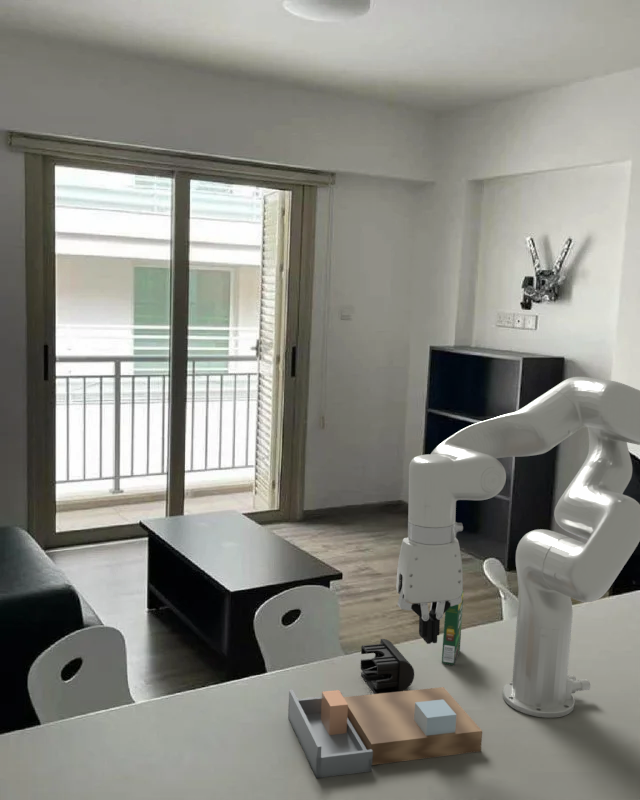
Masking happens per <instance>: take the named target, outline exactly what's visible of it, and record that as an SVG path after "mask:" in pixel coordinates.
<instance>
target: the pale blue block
mask: <svg viewBox="0 0 640 800" xmlns="http://www.w3.org/2000/svg"><path fill="white" fill-rule="evenodd" d="M414 720H415V722H416V723H417V724H418V726H419V727H420V728H421V730H422V731H423V732H424V734H425V735H426V736H428V735H437V734H445V733H454V732H455V728H456V714H455V712H454V711H453V710H452V709H451V708H450V707H449V705H448V704H447V703H446V702H445V701H444V700H433V701H424V702H415V713H414Z"/></svg>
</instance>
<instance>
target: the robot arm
mask: <svg viewBox="0 0 640 800" xmlns="http://www.w3.org/2000/svg"><path fill="white" fill-rule="evenodd" d="M582 428H587V432H588V443H589V446H588V448H589V449H588V454H587V455H586V457H585V460H584V462H583V464H582V465H581V467H580V468H579V470H578V472H577V473H576V474H575V476H574V477H573V478H572V480H571V482H570V483H569V485H568V486H567V488H566V489H565V490H564V492H563V494H562V495H561V496H560V498H559V499H558V501H557V503H556V505H555V507H554V515H553V516H554V520H555V523H556V524H557V525H558V526H559V527H560V528H561V529H562V530H563V531H565V532H567V533H570V534H572V535H574V536H575V537H579V538H580V539H584V540H587V541H586V543H585V542H584V541H580V540H577V539H575V538H572V537H570V536H568V535H565V534H563V533H560V532H557V531H553V530H549V529H543V528H542V529H541V528H540V529H539V528H538V529H534V530H531V531H529V532H527V533H525V534H524V535H523V536H522V538H521V539H520V540H519V541H518V544H517V547H516V550H515V567H516V574H517V575H516V576H517V584H518V586H517V587H518V598H517V599H518V601H517V602H518V603H517V613H516V614H517V615H516V627H515V628H516V629H515V643H514V654H513V655H514V656H513V669H512V681H509V682H508V683H506V684H505V685H503V688H502V698H503V700H504V701H505V703H506V704H507V705H508V706H509V707H511V708H512V709H514V710H516V711H517V712H518V711H519V712H521V713H522V714H525V715H529V716H532V717H538V718H547V719H548V718H549V719H550V718H561V717H565V716H567V715H568V714H570V713H572V711H573V710H574V708H575V698H574V697H573V695H572V694H575V693H576V692H578V691H579V692H582V691H590V690H591V682H590V681H589V679H587V678H585V679H577V678H576V676H575V675H572V674H571V675H569V664H570V662H569V661H570V653H571V652H570V650H571V649H570V648H571V637H572V625H573V616H574V615H573V612H574V610H573V603H572V599H573V600H576V601H578V602H583V603H592V602H593V603H594V602H596V601H597V600H599V599H600V598H602V597H604V595H605V594H606V593H607V592H608V591H609V589H610V588H611V586H612V585H613V583H614V582H615V580H616V579H617V578H618V576H619V574H620V573H621V571H622V570H623V568H624V566H625V565H626V564H627V562H628V561H629V559H630V558H631V556H632V554H633V553H634V551H635V550H636V549H637V547H638V545H639V543H640V502H638V501H637V500H636V499H635V498H633V497H631V496H630V495H626V494H624V492H625V490H626V489H627V487H628V485H629V483H630V481H631V480H632V477H633V464H632V463H633V462H632V458H631V454H630V450H629V447H628V443H629V444H631V445H637V446H640V390H639V389H637V388H635V387H633V386H630V385H627V384H625V383H623V382H618V381H616V380H615V381H614V380H609V379H602V378H594V377H587V376H571V377H569V378H567V379H565V380H563V381H561V382H560V383H558V384H557V385H555V386H554V387H552V388H551V389H548V390H547V391H546V392H544V393H543V394H541V395H540V396H538V397H537V398H535V399H533V400H532V401H531V402H529V403H528V404H526V405H525V406H523V407H521V408H519V409H518V410H516V411H513V412H509V413H505V414H502V415H499V416H496V417H492V418H489V419H486V420H483V421H479V422H477V423H473V424H471V425H468V426H466V427H464V428H462V429H459V430H458V431H457V432H455V433H453V434H452V435H450V436H449V437H447V438H446V439H444V440H443V441H442V442H441V443H439V444H438V445H436V447H435V448H434V449H433V450H432V451H431V453H430V454H429V453H428V454H421V455H417V456H414V457H412V459H411V460H410V463H409V465H408V503H407V504H408V512H407V513H408V515H407V518H408V520H407V537H404V538H403V539H402V541H401V546H400V550H399V555H398V562H397V568H396V569H397V573H396V585H395V586H396V593H397V594H399V596H398V601H397V606H398V608H399V609H401V610H404V611H413V612H414V613H415V614H416V615H417V616H418V633H419V637H420V638H421V639H423V640H424V642H425V643H426V644H427V645H429V644H430V645H431V644H437V643H438V636H440V630H441V629H440V627H441V626H440V625H441V622H440V621H441V620H442V619H443V617H444V615H445V612H446V611H447V609H448V608H449V607H450V606H454V605H457V604H460V603H461V602H462V598H461V595H462V590H463V587H464V582H463V581H464V579H463V577H464V576H463V561H462V555H461V548H460V543H459V540H458V538H457V534H458V533H459V532H463V530H464V526H463V523H462V522H457V521H456V516H457V515H456V514H457V513H456V512H457V511H456V510H457V509H456V508H457V501H484V500H488V499H492V498H494V497H495V496H497V495H498V494H500V492H501V491H502V490H503V489H504V486H505V484H506V479H507V471H506V469H505V467H504V466H503V464H502V462H500V461H499V460H498V459H501V458H510V457H514V458H515V457H518V458H519V457H530V456H537V455H538V456H539V455H543V454H546V453H547V452H549V451H551V450H552V449H553V448H554V447H556V446H558V445H559V444H561V443H562V442H563V441H564V440H566V439H568V438H569V437H570V436H572V435H573V434H575V433H576V432H578V431H579V430H581V429H582ZM463 591H464V590H463ZM428 604H430V607H429V605H428Z"/></svg>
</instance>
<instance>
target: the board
mask: <svg viewBox="0 0 640 800" xmlns="http://www.w3.org/2000/svg"><path fill="white" fill-rule="evenodd" d="M343 697H344V699H345V700H346V702H347V704H348V715H347V717H348V719H349V721H350V722H351V724H352V726H353V727H354V729H355V731H356V732H357V734H358V736H359V737H360V739H361V741H362V742H363V744H364V746H365V747H366V749H367V750H370V749H372V751H373V758H372V766H375V765H383V764H390V763H399V762H407V761H413V760H414V761H417V760H423V759H430V758H440V757H445V756H446V757H447V756H454V755H462V754H471V753H479V752H482V743H483V742H482V741H483V740H482V739H483V730H482V729H481V728H480V727H479V725H478V724H477V723H476V722H475V721H474V720H473V719H472V718H471V716H470V715H469V714H468V713H467V712H466V711H465V709H464V708H463V707H462V705H460V704H459V703H458V702H457V701H456V699H455V698H454V697H453V696H452V695H451V693H449V691H448V690H447V689H446V688H445V687H443V686H442V687H434V688H433V687H431V688H430V687H429V688H422V689H412V690H404V691H400V692H390V693H380V694H374V693H372V694H364V695H363V694H362V695H352V696H343ZM433 700H444V701H445V702H446V703H447V704H448V705H449V707H450V708H451V709H452V710H453V711H454V712H455V714H456V728H455V732H454V733H445V734H437V735H428V736H426V735H425V734H424V732H423V731H422V730H421V728H420V727H419V726H418V724H417V723H416V722H415V720H414V713H415V702H424V701H433Z"/></svg>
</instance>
